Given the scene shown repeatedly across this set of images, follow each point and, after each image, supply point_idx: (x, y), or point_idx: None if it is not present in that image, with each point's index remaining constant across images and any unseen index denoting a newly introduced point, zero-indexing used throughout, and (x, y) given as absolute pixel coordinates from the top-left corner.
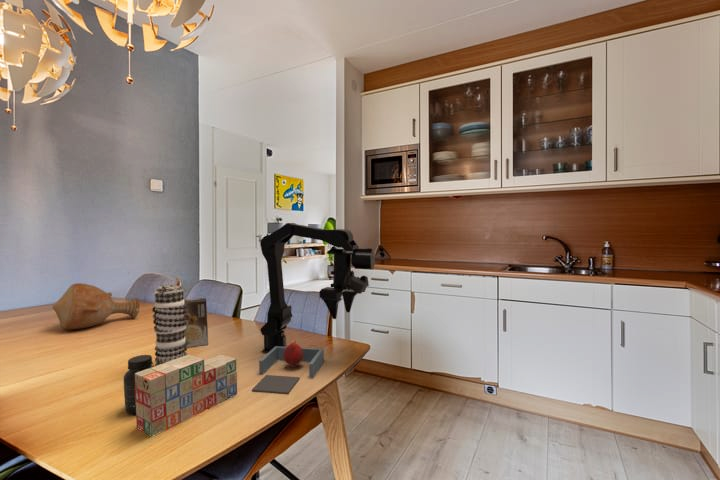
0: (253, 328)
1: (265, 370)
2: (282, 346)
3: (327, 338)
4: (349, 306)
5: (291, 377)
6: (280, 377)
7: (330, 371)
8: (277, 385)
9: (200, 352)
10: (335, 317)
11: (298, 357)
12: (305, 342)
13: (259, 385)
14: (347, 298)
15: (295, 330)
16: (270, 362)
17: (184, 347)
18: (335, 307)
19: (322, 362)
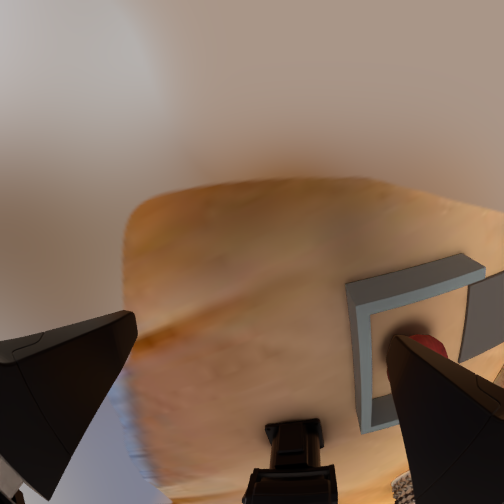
0: (193, 486)
1: None
2: (303, 429)
3: (141, 354)
4: (100, 338)
5: (472, 304)
6: (472, 327)
7: (415, 221)
8: (502, 306)
9: (347, 491)
10: (414, 341)
11: (437, 341)
12: (207, 398)
13: (499, 338)
14: (54, 410)
15: (147, 434)
16: None
17: (408, 496)
18: (498, 390)
19: (360, 281)
